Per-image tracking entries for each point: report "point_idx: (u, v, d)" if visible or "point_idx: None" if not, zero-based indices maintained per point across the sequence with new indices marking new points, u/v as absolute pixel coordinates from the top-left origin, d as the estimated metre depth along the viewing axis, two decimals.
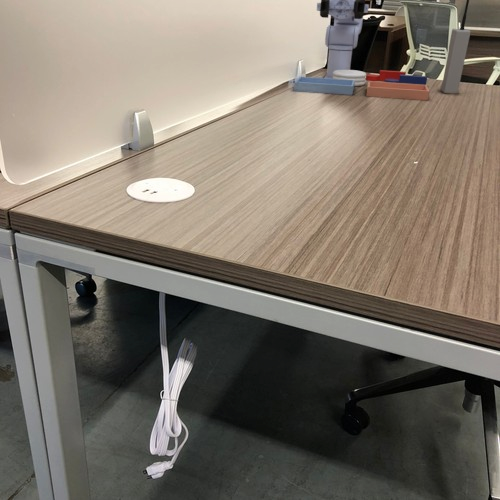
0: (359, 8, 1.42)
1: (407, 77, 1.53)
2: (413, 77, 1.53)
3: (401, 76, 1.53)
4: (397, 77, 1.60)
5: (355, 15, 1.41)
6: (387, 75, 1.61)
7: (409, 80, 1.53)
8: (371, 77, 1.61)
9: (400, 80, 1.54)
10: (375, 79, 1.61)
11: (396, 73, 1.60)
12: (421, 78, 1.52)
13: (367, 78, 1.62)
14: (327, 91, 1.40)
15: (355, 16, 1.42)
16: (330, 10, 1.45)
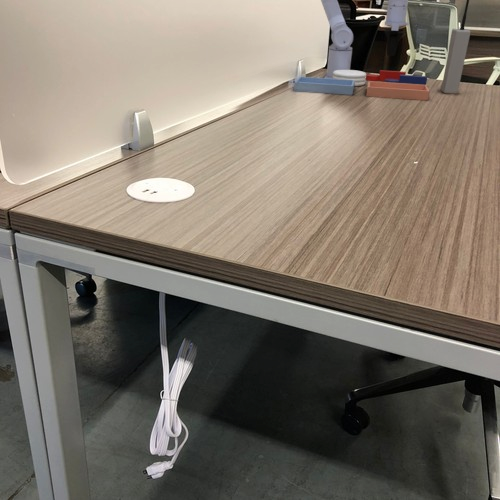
0: None
1: (407, 77, 1.53)
2: (413, 77, 1.53)
3: (401, 76, 1.53)
4: (397, 77, 1.60)
5: None
6: (387, 75, 1.61)
7: (409, 80, 1.53)
8: (371, 77, 1.61)
9: (400, 80, 1.54)
10: (375, 79, 1.61)
11: (396, 73, 1.60)
12: (421, 78, 1.52)
13: (367, 78, 1.62)
14: (327, 91, 1.40)
15: None
16: (392, 25, 1.52)
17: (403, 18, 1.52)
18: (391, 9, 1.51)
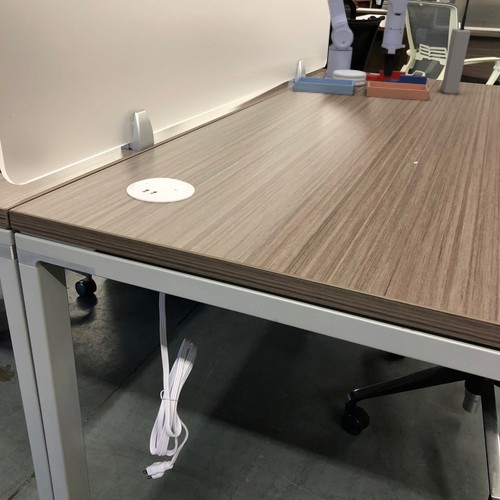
0: None
1: (407, 77, 1.53)
2: (413, 77, 1.53)
3: (401, 76, 1.53)
4: (397, 77, 1.60)
5: None
6: None
7: (409, 80, 1.53)
8: (371, 77, 1.61)
9: (400, 80, 1.54)
10: (375, 79, 1.61)
11: (396, 73, 1.60)
12: (421, 78, 1.52)
13: (367, 78, 1.62)
14: (327, 91, 1.40)
15: None
16: None
17: (399, 41, 1.55)
18: (388, 32, 1.54)
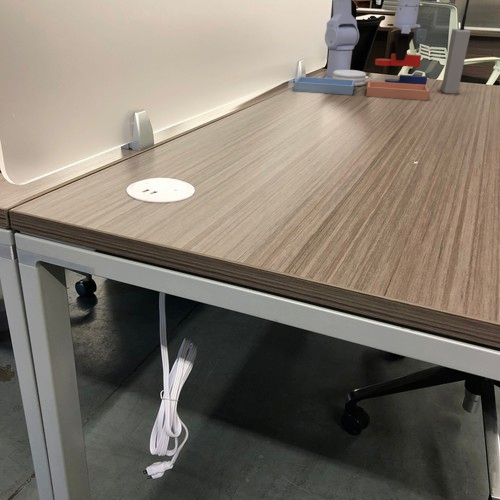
0: None
1: (407, 77, 1.53)
2: (413, 77, 1.53)
3: (401, 76, 1.53)
4: (411, 61, 1.41)
5: None
6: None
7: (409, 80, 1.53)
8: (382, 61, 1.42)
9: (400, 80, 1.54)
10: (386, 64, 1.42)
11: (410, 57, 1.41)
12: (421, 78, 1.52)
13: (377, 63, 1.43)
14: (327, 91, 1.40)
15: None
16: (402, 27, 1.36)
17: (414, 19, 1.36)
18: (401, 9, 1.35)
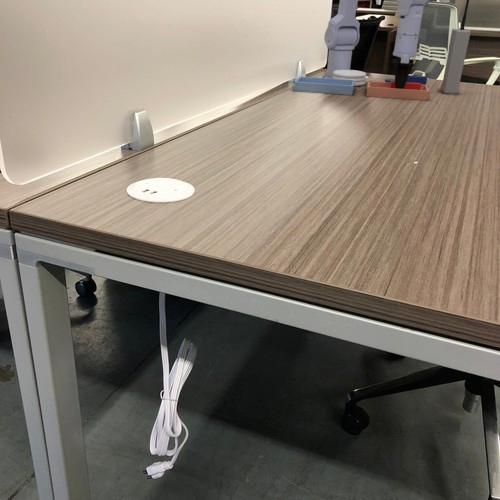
0: None
1: None
2: (413, 77, 1.53)
3: None
4: (411, 89, 1.39)
5: None
6: None
7: (409, 80, 1.53)
8: None
9: None
10: None
11: (410, 85, 1.38)
12: (421, 78, 1.52)
13: None
14: (327, 91, 1.40)
15: None
16: None
17: (414, 48, 1.33)
18: (400, 38, 1.32)
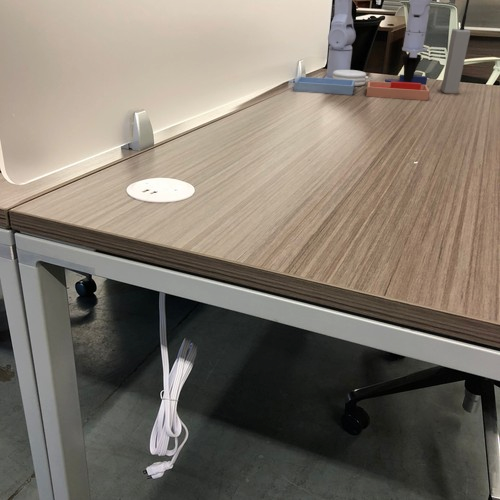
0: None
1: None
2: (413, 77, 1.53)
3: (401, 76, 1.53)
4: (411, 89, 1.39)
5: (403, 62, 1.53)
6: (399, 87, 1.39)
7: None
8: None
9: (400, 80, 1.54)
10: None
11: (410, 85, 1.38)
12: (421, 78, 1.52)
13: None
14: (327, 91, 1.40)
15: None
16: None
17: (421, 44, 1.47)
18: (409, 35, 1.47)
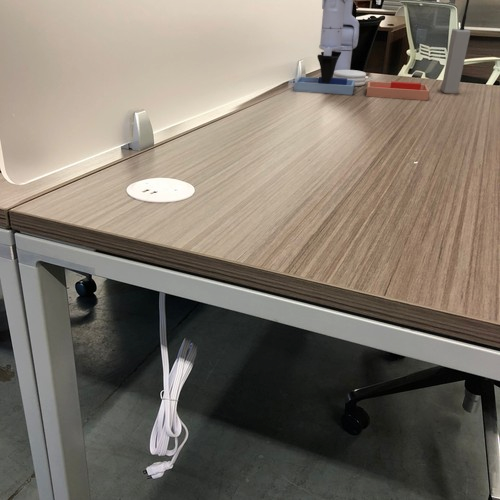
0: None
1: None
2: (332, 79, 1.42)
3: (320, 78, 1.43)
4: (411, 89, 1.39)
5: None
6: (399, 87, 1.39)
7: (328, 83, 1.43)
8: None
9: (319, 82, 1.43)
10: None
11: (410, 85, 1.38)
12: (341, 80, 1.42)
13: None
14: (327, 91, 1.40)
15: None
16: None
17: (338, 41, 1.37)
18: (324, 31, 1.36)
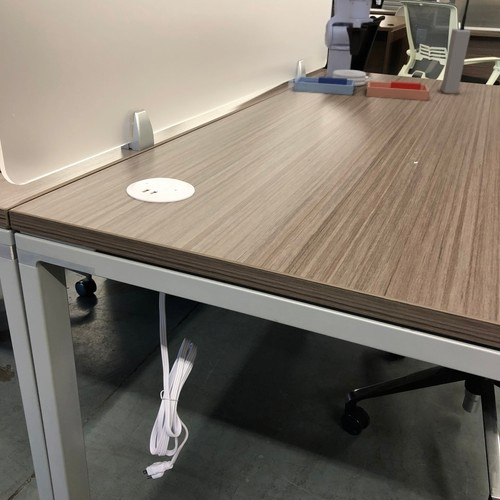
0: None
1: (326, 79, 1.43)
2: (332, 79, 1.42)
3: (320, 78, 1.43)
4: (411, 89, 1.39)
5: None
6: (399, 87, 1.39)
7: (328, 83, 1.43)
8: None
9: (319, 82, 1.43)
10: None
11: (410, 85, 1.38)
12: (341, 80, 1.42)
13: None
14: (327, 91, 1.40)
15: None
16: None
17: (366, 14, 1.38)
18: (353, 4, 1.37)
